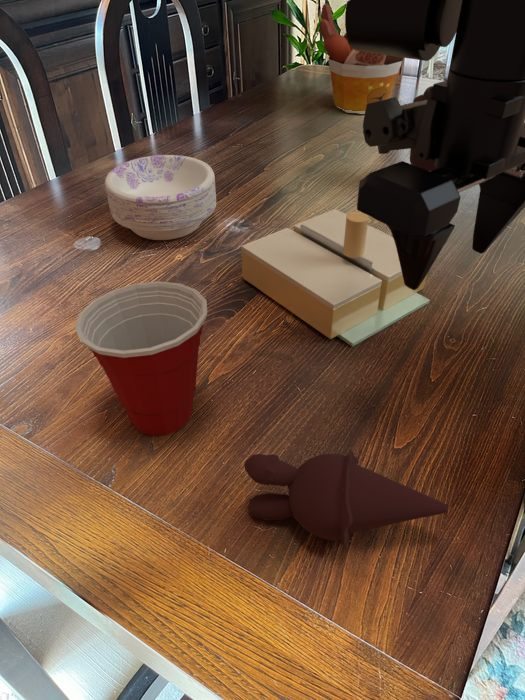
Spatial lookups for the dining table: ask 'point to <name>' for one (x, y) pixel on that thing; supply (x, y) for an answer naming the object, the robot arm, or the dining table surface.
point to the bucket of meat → (356, 69)
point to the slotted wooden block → (332, 279)
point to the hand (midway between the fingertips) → (445, 268)
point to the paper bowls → (161, 195)
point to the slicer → (346, 241)
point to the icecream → (335, 496)
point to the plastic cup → (148, 349)
